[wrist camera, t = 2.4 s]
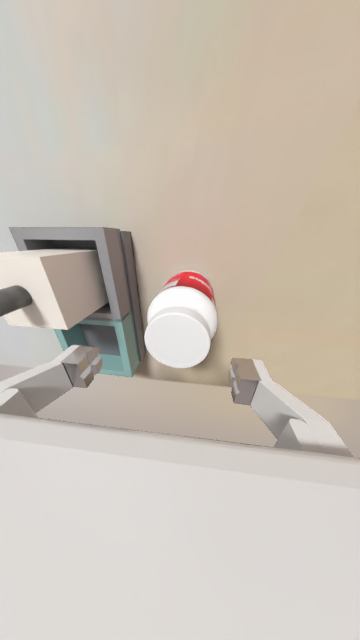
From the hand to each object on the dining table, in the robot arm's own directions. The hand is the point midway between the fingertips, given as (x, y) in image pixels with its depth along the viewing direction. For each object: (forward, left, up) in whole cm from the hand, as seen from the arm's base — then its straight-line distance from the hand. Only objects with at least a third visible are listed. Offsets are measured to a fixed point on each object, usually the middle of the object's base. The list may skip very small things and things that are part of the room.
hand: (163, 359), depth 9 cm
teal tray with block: (+11, +2, -13) cm, 17 cm away
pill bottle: (-1, 0, -13) cm, 13 cm away
